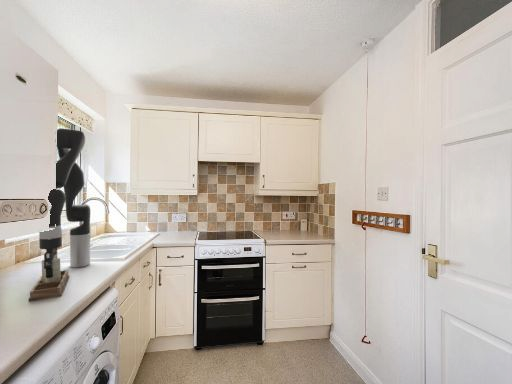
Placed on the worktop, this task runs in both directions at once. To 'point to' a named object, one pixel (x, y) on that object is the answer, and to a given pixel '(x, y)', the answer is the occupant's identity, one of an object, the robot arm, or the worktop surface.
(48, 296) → the tray
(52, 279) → the box
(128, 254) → the worktop surface
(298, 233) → the worktop surface
